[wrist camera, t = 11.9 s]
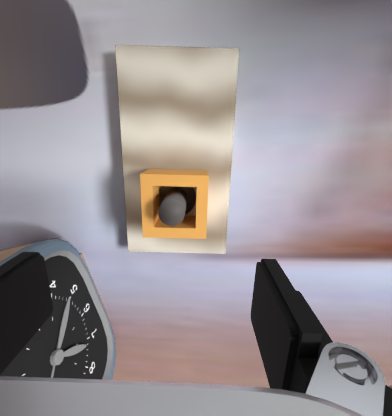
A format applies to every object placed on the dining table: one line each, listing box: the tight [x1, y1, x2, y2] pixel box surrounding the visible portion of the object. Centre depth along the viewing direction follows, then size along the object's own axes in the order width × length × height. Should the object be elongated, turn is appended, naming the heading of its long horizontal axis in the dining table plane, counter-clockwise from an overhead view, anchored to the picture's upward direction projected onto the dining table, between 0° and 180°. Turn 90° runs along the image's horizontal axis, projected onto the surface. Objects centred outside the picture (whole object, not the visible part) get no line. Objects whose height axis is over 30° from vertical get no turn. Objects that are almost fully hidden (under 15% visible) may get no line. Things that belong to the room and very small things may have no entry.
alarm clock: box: [0, 239, 116, 380], centre depth 22 cm, size 21×10×22 cm, turn 14°
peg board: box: [115, 45, 239, 254], centre depth 23 cm, size 22×12×8 cm, turn 179°
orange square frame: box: [140, 169, 209, 239], centre depth 24 cm, size 6×6×4 cm
